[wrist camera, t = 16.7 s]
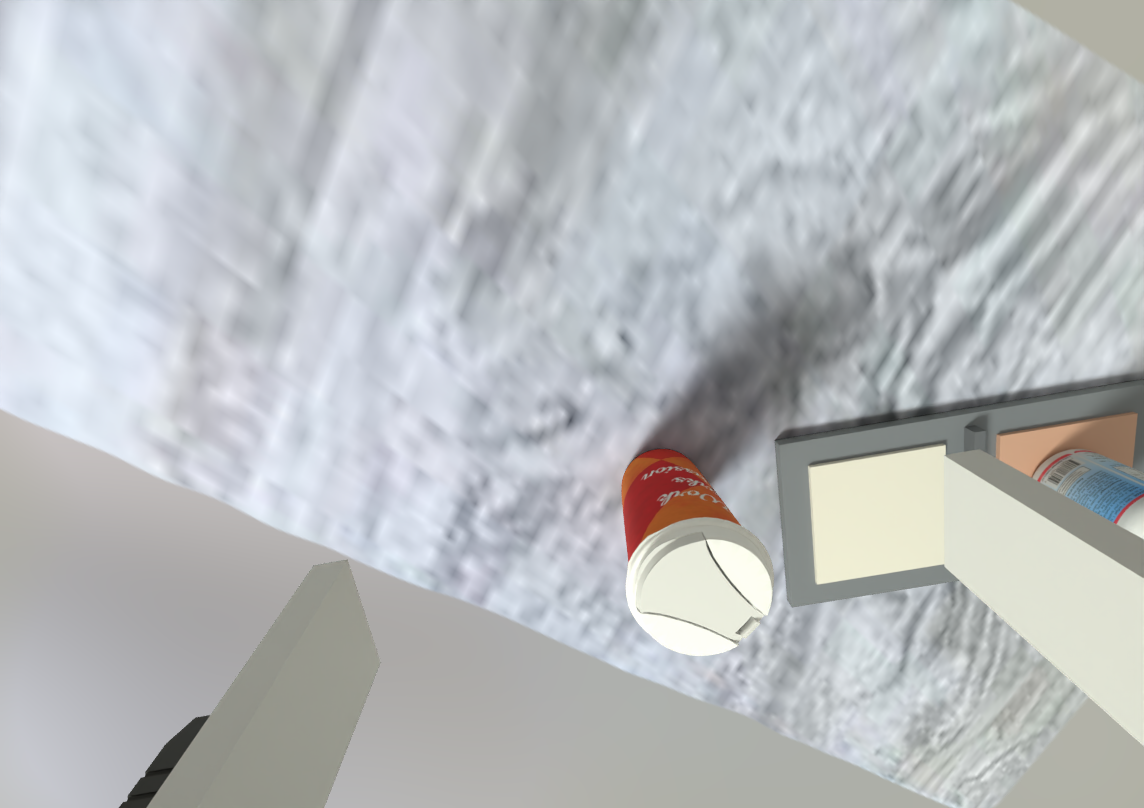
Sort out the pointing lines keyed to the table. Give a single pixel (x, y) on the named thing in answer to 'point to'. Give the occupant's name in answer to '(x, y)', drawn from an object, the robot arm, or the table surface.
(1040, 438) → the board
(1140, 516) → the pill bottle
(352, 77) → the table surface
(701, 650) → the coffee cup
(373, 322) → the table surface
